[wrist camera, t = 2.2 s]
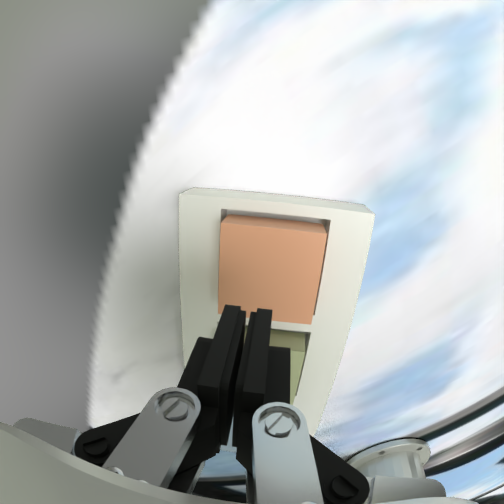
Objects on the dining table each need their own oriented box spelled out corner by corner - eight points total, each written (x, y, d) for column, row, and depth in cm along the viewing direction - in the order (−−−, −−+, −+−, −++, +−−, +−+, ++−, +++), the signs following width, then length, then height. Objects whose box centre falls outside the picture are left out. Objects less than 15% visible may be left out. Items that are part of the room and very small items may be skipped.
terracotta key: (309, 306, 20) (311, 324, 18) (224, 297, 21) (217, 313, 19) (322, 223, 18) (326, 234, 16) (228, 213, 19) (220, 222, 17)
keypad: (307, 429, 28) (308, 450, 25) (198, 415, 29) (191, 435, 26) (363, 204, 20) (375, 214, 17) (193, 187, 21) (179, 194, 18)
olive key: (292, 388, 23) (292, 408, 21) (222, 380, 23) (217, 398, 21) (304, 333, 21) (305, 352, 19) (223, 323, 21) (217, 341, 19)
